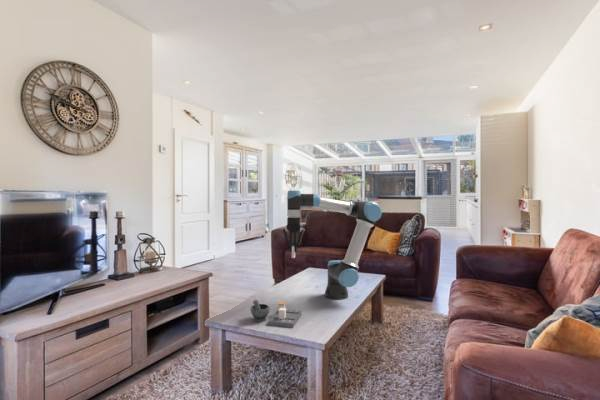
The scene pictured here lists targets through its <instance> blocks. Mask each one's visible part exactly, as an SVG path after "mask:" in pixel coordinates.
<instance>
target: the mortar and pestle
mask: <svg viewBox="0 0 600 400" xmlns="http://www.w3.org/2000/svg"><path fill="white" fill-rule="evenodd" d="M259 301H260V300H259V299H254V300H253V301H252V303H253V305H251V306H250V313H251V315H252V316H253V320H254V322H255V323H264V322H265V321H267V319H266V318H267V316H268V315H269V314H270V306H269V304H265V303H259Z"/></svg>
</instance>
